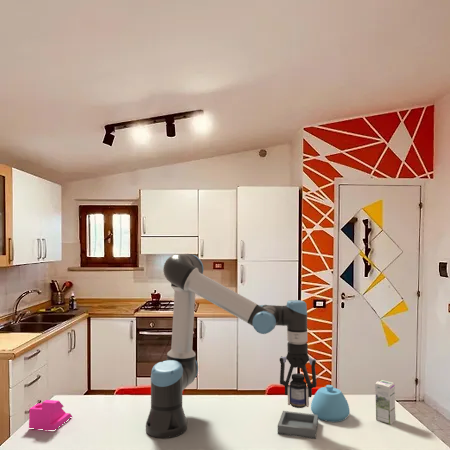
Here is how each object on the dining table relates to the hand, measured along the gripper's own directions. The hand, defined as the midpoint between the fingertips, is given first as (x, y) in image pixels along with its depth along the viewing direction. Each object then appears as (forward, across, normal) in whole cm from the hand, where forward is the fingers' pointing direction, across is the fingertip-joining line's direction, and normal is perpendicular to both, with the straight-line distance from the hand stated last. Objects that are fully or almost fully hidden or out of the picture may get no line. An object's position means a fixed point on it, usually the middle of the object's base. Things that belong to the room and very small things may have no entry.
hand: (298, 404), depth 148 cm
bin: (+9, 0, 0) cm, 9 cm away
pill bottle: (+1, 0, 0) cm, 1 cm away
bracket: (+8, -92, -23) cm, 95 cm away
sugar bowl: (+9, +11, +16) cm, 21 cm away
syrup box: (+9, +32, +16) cm, 37 cm away
